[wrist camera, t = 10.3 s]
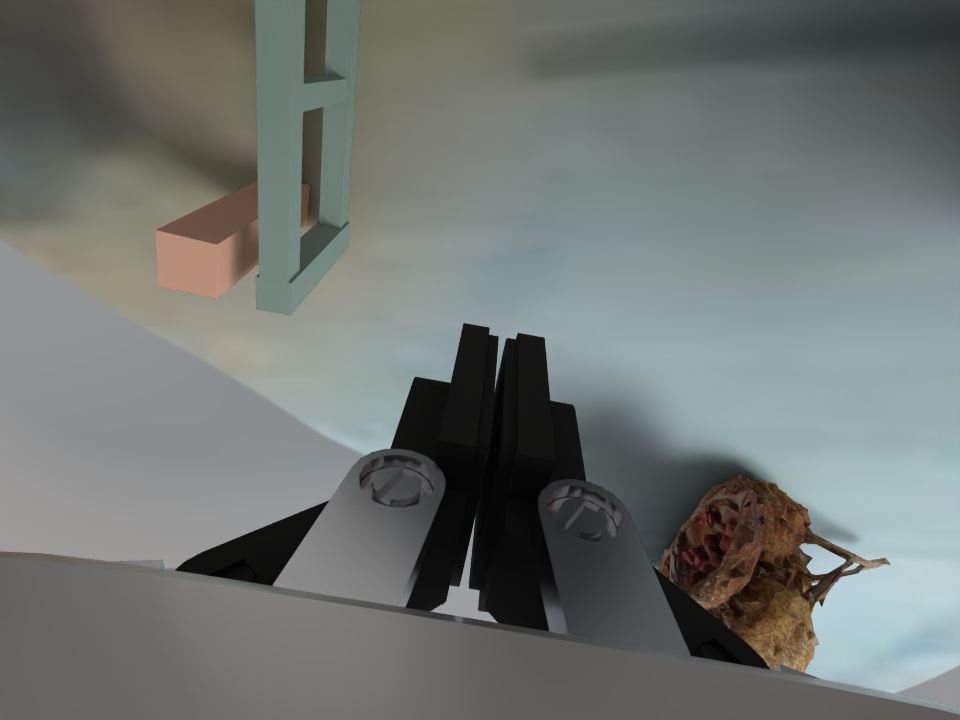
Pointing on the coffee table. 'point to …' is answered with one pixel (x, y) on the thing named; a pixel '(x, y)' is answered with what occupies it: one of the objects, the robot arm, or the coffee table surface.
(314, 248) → the gate
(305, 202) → the post
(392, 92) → the coffee table surface
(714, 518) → the seed pod
